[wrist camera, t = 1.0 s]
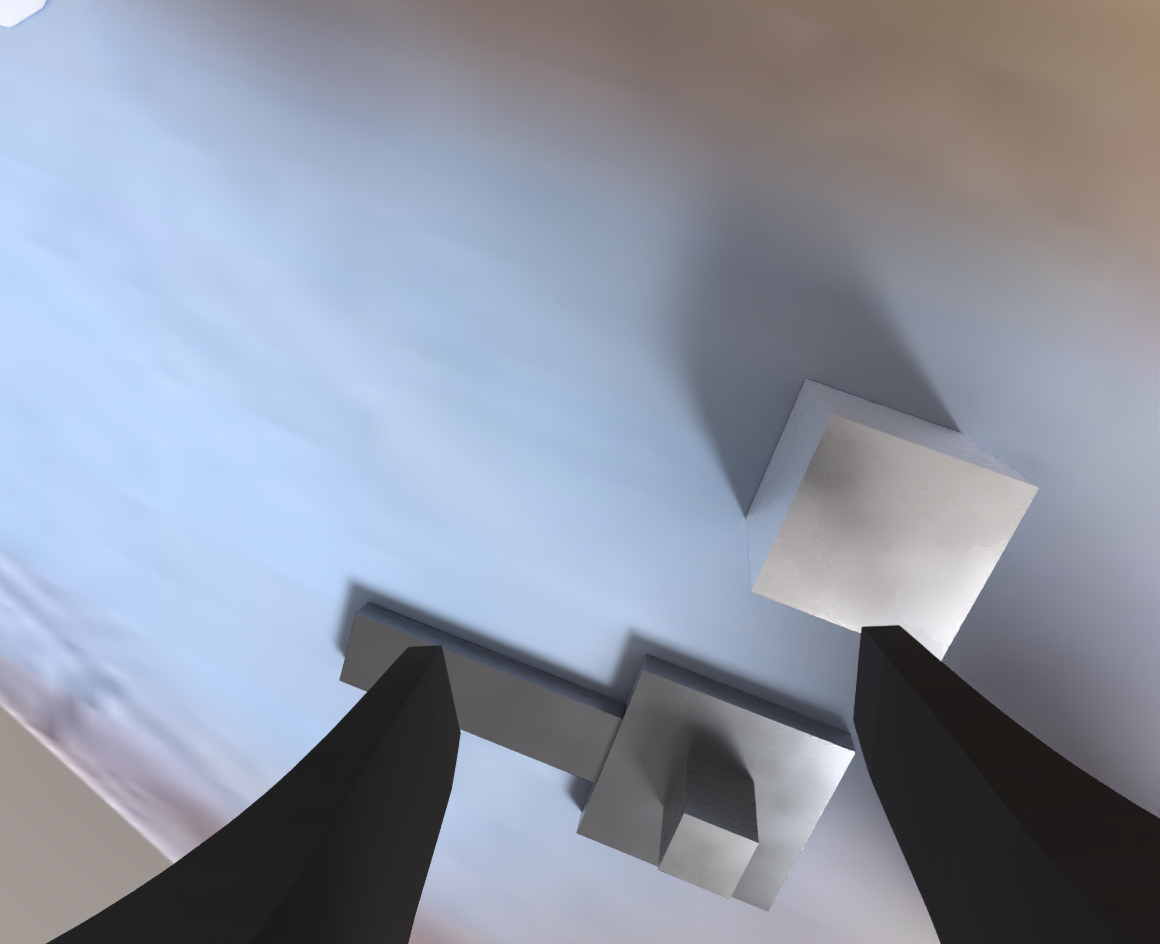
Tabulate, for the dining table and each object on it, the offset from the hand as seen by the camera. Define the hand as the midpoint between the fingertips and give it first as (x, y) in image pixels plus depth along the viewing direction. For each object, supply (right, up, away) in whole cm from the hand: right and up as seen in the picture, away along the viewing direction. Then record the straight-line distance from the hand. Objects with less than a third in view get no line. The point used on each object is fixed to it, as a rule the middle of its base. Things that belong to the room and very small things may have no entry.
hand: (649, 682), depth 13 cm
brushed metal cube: (+8, +3, +12) cm, 14 cm away
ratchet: (-1, -6, +16) cm, 17 cm away
